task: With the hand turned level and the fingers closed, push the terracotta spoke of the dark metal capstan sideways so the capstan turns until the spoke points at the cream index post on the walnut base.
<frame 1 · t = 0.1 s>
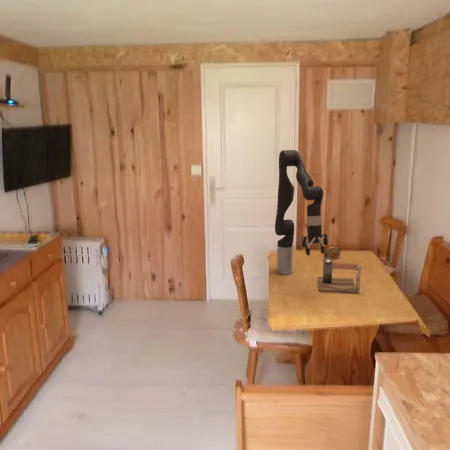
hand: (315, 254, 247), 22 cm above the table, tool pointing down, fingers open, 8 cm apart
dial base: (327, 284, 265), on the table
tin: (331, 259, 309), on the table
capstan: (340, 271, 261), point 8 cm above the table, hinge at 32.0°
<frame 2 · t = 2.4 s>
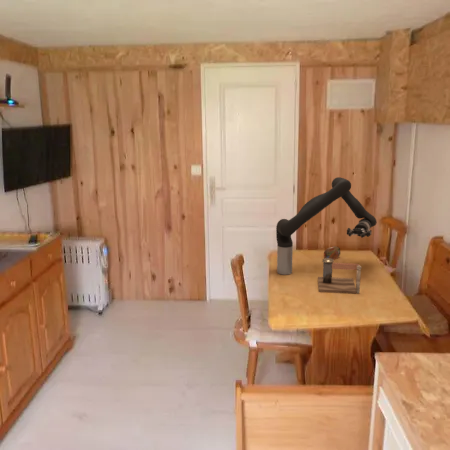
hand: (355, 235, 261), 28 cm above the table, tool horizontal, fingers open, 6 cm apart
nothing on the table moved.
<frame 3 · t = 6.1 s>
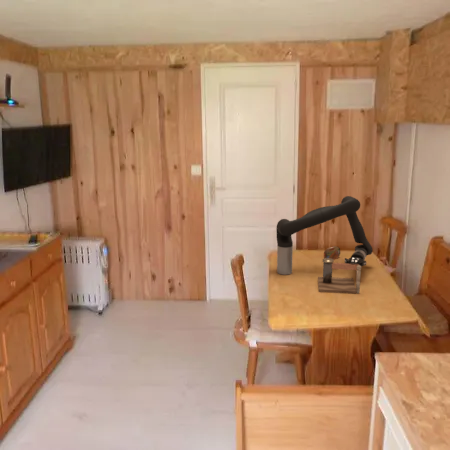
hand: (352, 266, 260), 11 cm above the table, tool horizontal, fingers closed
capstan: (340, 271, 261), point 8 cm above the table, hinge at 30.1°, touching gripper
everything else where it was.
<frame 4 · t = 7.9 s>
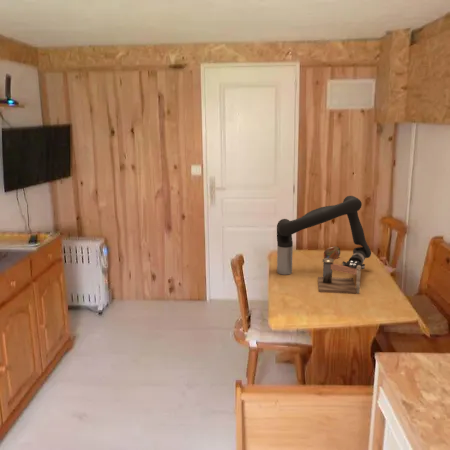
hand: (350, 269, 254), 11 cm above the table, tool horizontal, fingers closed
capstan: (338, 273, 258), point 8 cm above the table, hinge at 2.5°, touching gripper
everything else where it was.
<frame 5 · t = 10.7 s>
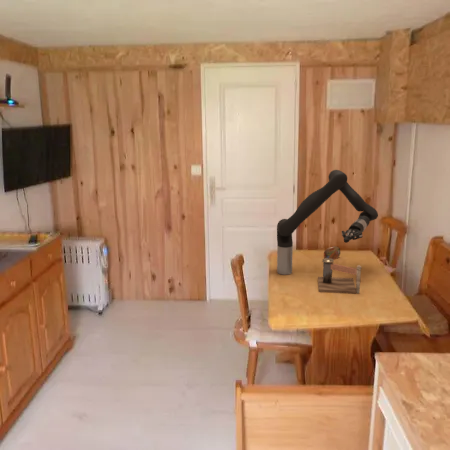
hand: (345, 241, 257), 26 cm above the table, tool horizontal, fingers closed
capstan: (338, 273, 258), point 8 cm above the table, hinge at 2.3°
everything else where it was.
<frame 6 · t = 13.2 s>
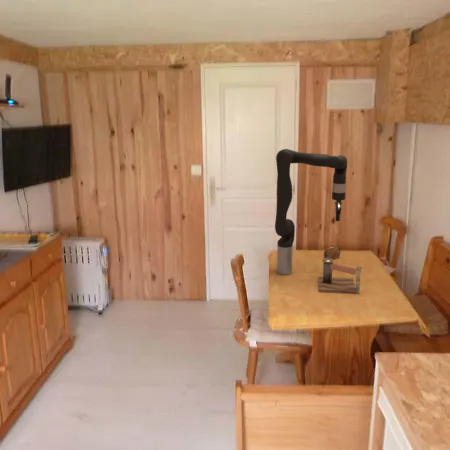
hand: (337, 220, 266), 35 cm above the table, tool pointing down, fingers closed
nothing on the table moved.
at the end: capstan at +2° (first picture: +32°); tin moved 0.3 cm from its start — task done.
